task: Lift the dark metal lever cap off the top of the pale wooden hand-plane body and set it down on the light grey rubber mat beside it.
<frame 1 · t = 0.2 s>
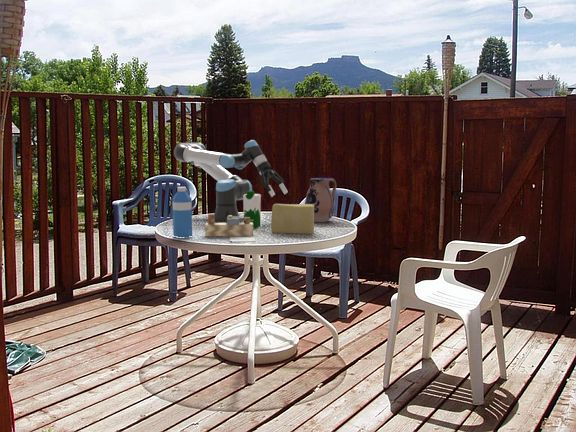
hand: (280, 194, 365), 15 cm above the table, tool tilted 35°, fingers open, 13 cm apart
cheese: (292, 233, 327), on the table
ceramic pitcher: (321, 221, 367), on the table
water bottle: (182, 237, 314), on the table
milk carton: (252, 227, 345), on the table
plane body: (229, 235, 318), on the table
mat: (242, 239, 306), on the table
lever cap: (233, 223, 318), point 6 cm above the table, touching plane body
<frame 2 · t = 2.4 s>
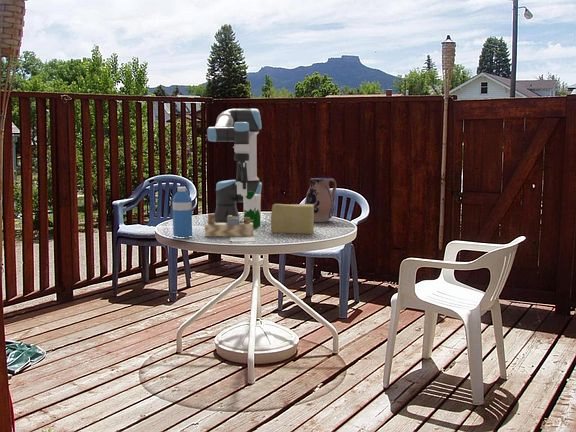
hand: (241, 195, 318), 20 cm above the table, tool pointing down, fingers open, 13 cm apart
nothing on the table moved.
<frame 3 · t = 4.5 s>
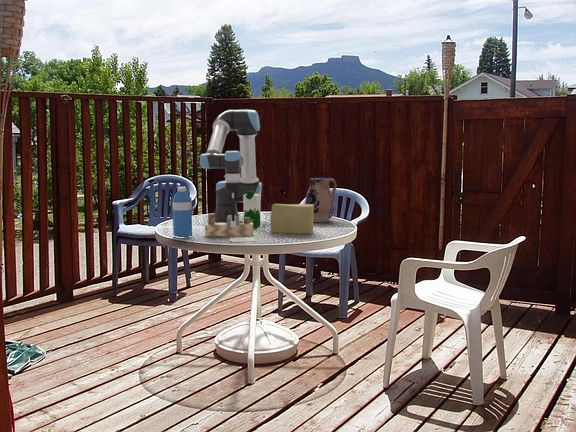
hand: (233, 225, 318), 5 cm above the table, tool pointing down, fingers closed on lever cap, 10 cm apart
lever cap: (233, 223, 318), point 6 cm above the table, touching gripper, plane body
everything else where it was.
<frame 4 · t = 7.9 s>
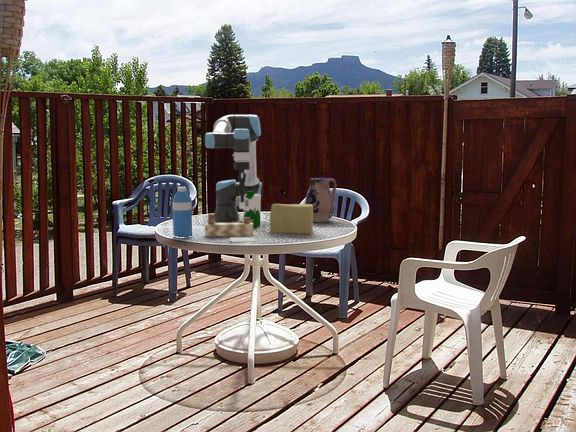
hand: (242, 207, 304), 16 cm above the table, tool pointing down, fingers closed on lever cap, 10 cm apart
lever cap: (242, 205, 303), point 17 cm above the table, touching gripper
everything else where it was.
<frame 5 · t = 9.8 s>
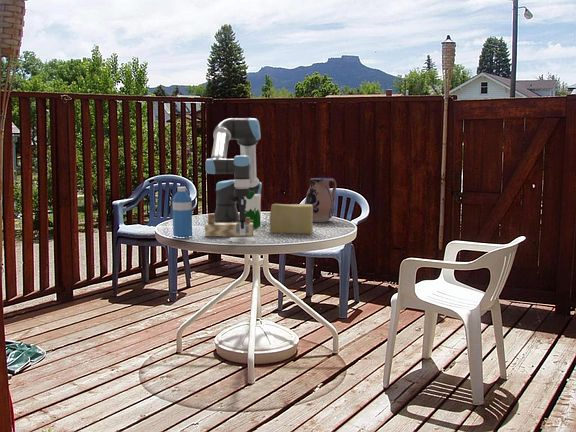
hand: (242, 233, 305), 3 cm above the table, tool pointing down, fingers closed on lever cap, 10 cm apart
lever cap: (242, 231, 305), point 4 cm above the table, touching gripper
everything else where it was.
when the fingers open (1 cm above the table, at t = 11.3 s): lever cap drops 2 cm, resting on mat.
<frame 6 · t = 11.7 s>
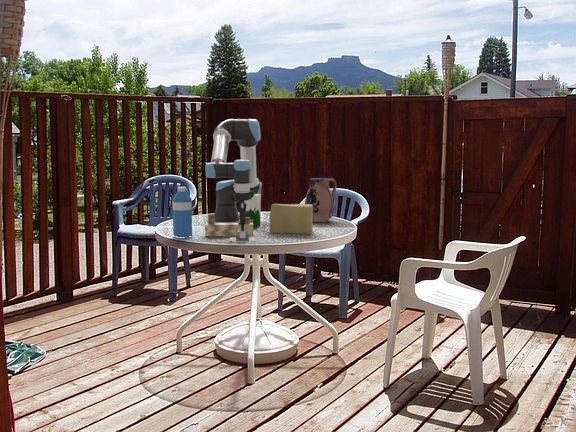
hand: (242, 235, 306), 2 cm above the table, tool pointing down, fingers open, 13 cm apart
lever cap: (242, 239, 306), resting on mat
everything else where it was.
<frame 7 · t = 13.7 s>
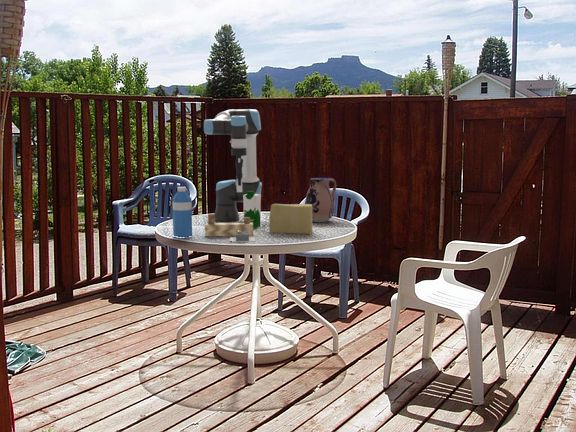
hand: (239, 190, 313), 23 cm above the table, tool pointing down, fingers open, 13 cm apart
nothing on the table moved.
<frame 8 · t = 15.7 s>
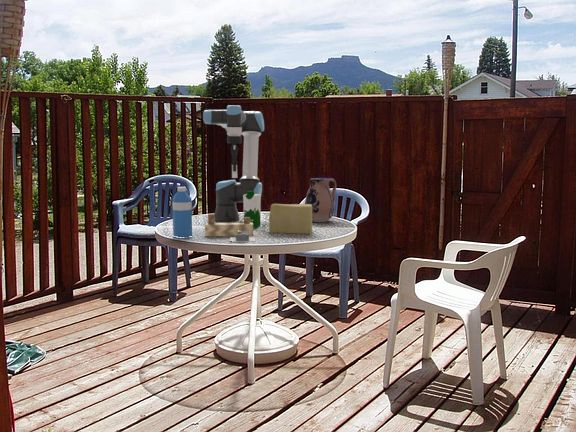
hand: (234, 176, 327), 29 cm above the table, tool pointing down, fingers open, 13 cm apart
nothing on the table moved.
at the end: lever cap inside the target area on the mat (0.1 cm from its centre), point 0.4 cm above the mat's base; lever cap touching mat; the gripper is holding nothing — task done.
